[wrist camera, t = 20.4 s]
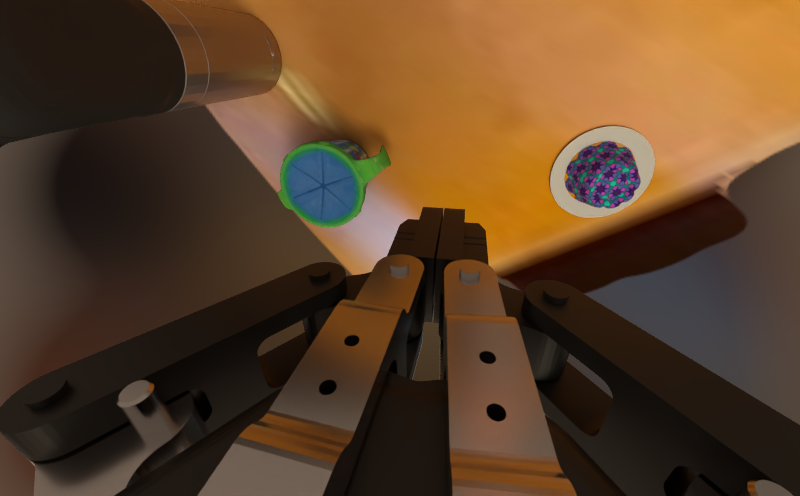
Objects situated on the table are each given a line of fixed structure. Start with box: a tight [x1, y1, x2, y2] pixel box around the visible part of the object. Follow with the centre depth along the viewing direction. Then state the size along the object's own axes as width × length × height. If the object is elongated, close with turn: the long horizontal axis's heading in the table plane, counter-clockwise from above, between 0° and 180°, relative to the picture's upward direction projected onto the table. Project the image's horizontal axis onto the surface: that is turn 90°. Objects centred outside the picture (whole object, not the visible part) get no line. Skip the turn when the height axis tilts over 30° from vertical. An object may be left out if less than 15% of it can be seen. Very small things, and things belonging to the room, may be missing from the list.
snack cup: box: [278, 139, 391, 227], centre depth 44 cm, size 16×10×10 cm
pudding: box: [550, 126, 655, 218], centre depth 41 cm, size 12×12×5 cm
